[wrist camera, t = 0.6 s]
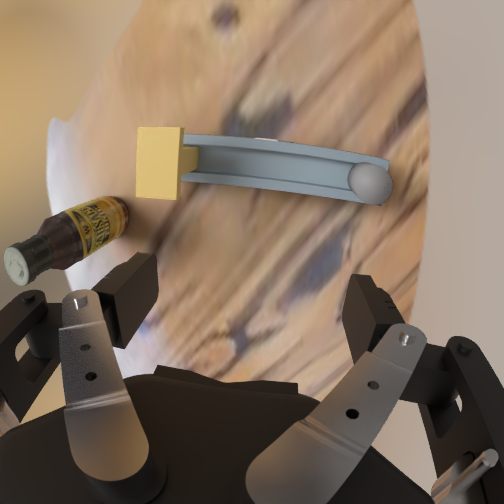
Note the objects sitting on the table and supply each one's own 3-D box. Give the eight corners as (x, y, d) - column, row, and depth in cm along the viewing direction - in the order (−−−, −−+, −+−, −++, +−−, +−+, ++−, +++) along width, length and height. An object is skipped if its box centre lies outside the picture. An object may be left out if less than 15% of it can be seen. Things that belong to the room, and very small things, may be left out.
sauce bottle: (137, 228, 41) (50, 298, 22) (104, 239, 42) (17, 306, 24) (121, 185, 39) (20, 231, 20) (89, 199, 40) (-10, 248, 21)
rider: (163, 183, 33) (135, 196, 26) (166, 127, 30) (138, 127, 24) (197, 186, 33) (176, 200, 26) (201, 128, 30) (180, 127, 24)
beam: (163, 171, 37) (125, 185, 28) (165, 132, 35) (127, 133, 26) (365, 194, 36) (393, 216, 27) (372, 154, 34) (403, 163, 25)
